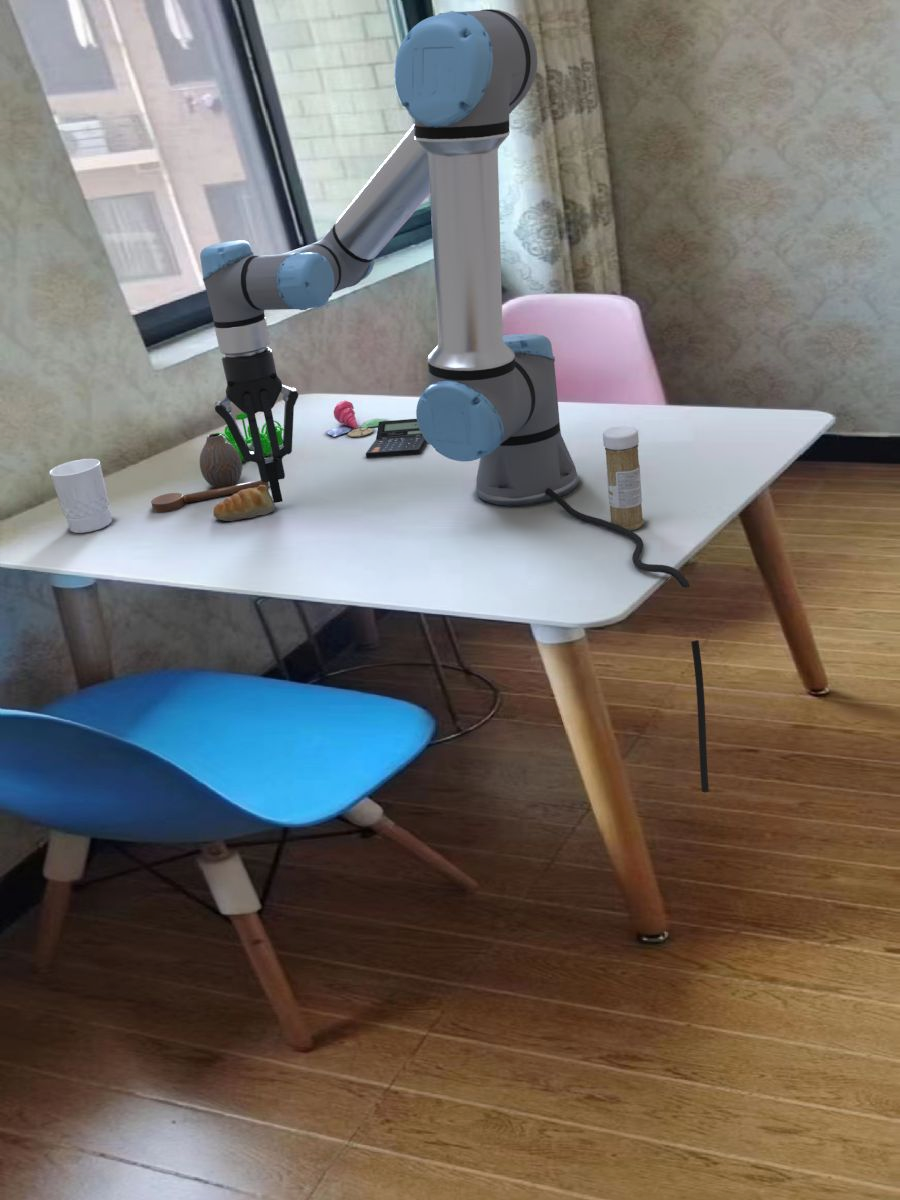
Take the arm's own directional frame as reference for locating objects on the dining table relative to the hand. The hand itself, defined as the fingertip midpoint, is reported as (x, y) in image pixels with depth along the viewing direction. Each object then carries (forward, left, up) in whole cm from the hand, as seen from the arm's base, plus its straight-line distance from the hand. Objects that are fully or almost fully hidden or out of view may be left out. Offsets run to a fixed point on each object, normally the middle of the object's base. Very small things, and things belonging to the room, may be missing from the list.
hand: (277, 499), depth 180 cm
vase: (+18, +8, -2) cm, 20 cm away
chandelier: (+35, +3, -2) cm, 35 cm away
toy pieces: (+37, -17, -2) cm, 41 cm away
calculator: (+21, -23, -2) cm, 31 cm away
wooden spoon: (+12, +11, -2) cm, 16 cm away
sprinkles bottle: (-35, -45, -2) cm, 57 cm away
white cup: (+10, +30, -2) cm, 32 cm away
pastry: (+1, +5, -2) cm, 5 cm away
